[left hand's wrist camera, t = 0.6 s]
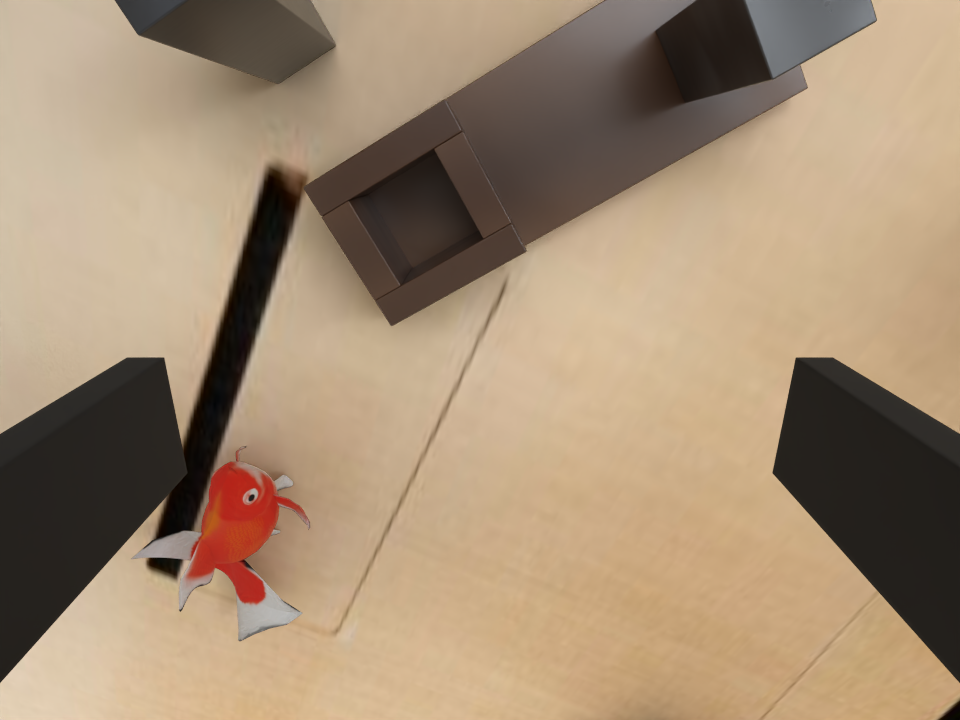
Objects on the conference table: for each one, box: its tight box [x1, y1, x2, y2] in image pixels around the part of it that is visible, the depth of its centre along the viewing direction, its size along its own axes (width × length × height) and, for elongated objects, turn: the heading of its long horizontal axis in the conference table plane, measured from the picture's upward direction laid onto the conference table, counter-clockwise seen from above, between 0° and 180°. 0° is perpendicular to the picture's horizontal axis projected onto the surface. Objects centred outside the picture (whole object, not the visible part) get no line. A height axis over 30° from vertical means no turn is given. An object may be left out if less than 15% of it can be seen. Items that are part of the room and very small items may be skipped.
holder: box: [304, 0, 877, 326], centre depth 28 cm, size 9×26×12 cm, turn 119°
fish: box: [132, 446, 310, 641], centre depth 39 cm, size 11×16×10 cm
